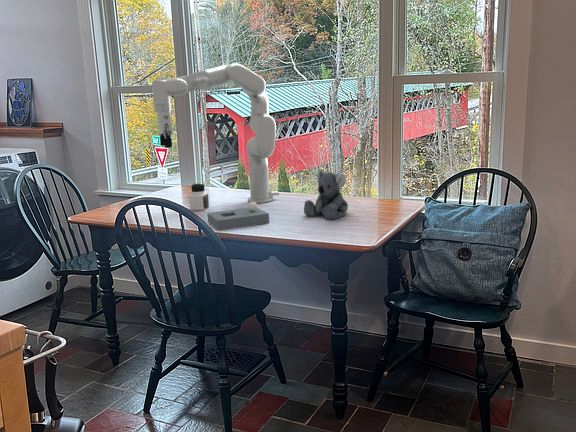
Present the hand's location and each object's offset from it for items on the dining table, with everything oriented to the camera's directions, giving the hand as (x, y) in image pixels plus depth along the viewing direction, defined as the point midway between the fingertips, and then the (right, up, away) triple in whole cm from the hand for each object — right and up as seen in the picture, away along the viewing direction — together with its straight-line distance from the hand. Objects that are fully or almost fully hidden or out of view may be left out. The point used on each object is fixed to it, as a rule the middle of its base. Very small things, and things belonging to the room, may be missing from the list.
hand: (166, 146), depth 259 cm
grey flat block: (+34, -34, -17) cm, 51 cm away
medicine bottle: (+13, -28, +13) cm, 34 cm away
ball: (+40, -27, -15) cm, 51 cm away
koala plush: (+73, -31, -10) cm, 80 cm away
